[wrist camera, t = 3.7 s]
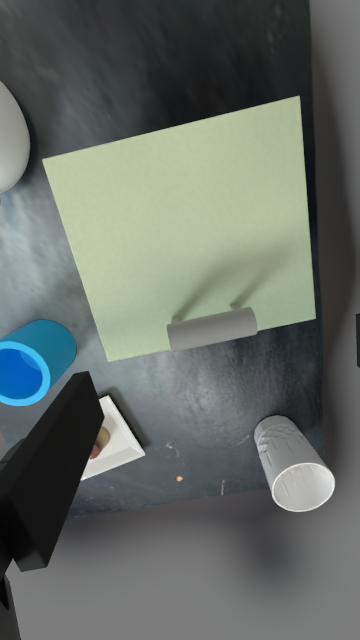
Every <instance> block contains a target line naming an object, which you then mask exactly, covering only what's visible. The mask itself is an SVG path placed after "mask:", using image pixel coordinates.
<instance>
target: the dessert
mask: <svg viewBox="0 0 360 640" xmlns="http://www.w3.org/2000/svg"><path fill="white" fill-rule="evenodd" d="M99 401H100V404H101V407H102V410H103V413H104V415H105V419H104V421H103V424H102V426H101V429H100V431H99V434H98V437H97V439H96V442H95V444H94V447H93V450H92V452H91V455H90V457H89V460H88V462H87V465H86V468H85V470H84V473H83V475H82V478H81V481H82V480H84V479H87V478H89V477H92V476H94V475H97V474H99V473H102V472H104V471H107V470H109V469H112V468H114V467H117V466H119V465H122V464H124V463H127V462H129V461H132V460H134V459H137V458H139V457H142V456H145V453H144V451H143V450H142V448H141V446H140V445H139V443H138V442H137V440H136V438H135V437H134V435H133V434H132V432H131V430H130V429H129V427H128V426H127V424H126V422H125V421H124V419H123V418H122V416H121V414H120V413H119V411H118V410H117V408H116V406H115V405H114V403H113V402H112V400H111V398H110V397H109V396H106V397H103V398H101V399H99Z"/></svg>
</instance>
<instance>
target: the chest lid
mask: <svg viewBox="0 0 360 640" xmlns="http://www.w3.org/2000/svg"><path fill="white" fill-rule="evenodd" d="M42 161H43V164H44V167H45V170H46V174H47V177H48V180H49V183H50V186H51V189H52V192H53V195H54V198H55V201H56V204H57V207H58V210H59V213H60V216H61V219H62V222H63V226H64V229H65V232H66V235H67V238H68V241H69V244H70V247H71V250H72V253H73V256H74V259H75V262H76V265H77V268H78V271H79V274H80V278H81V281H82V284H83V287H84V290H85V293H86V296H87V299H88V302H89V305H90V308H91V311H92V314H93V317H94V320H95V323H96V326H97V330H98V333H99V336H100V339H101V342H102V345H103V348H104V351H105V354H106V357H107V360H108V362H111V361H116V360H121V359H126V358H130V357H135V356H140V355H145V354H149V353H154V352H159V351H164V350H169V349H171V350H172V352H175V351H180V350H184V349H189V348H194V347H199V346H204V345H208V344H213V343H218V342H223V341H227V340H232V339H237V338H242V337H247V336H251V335H256V334H257V331H259V330H264V329H269V328H273V327H278V326H283V325H288V324H292V323H297V322H302V321H307V320H311V319H316V315H315V301H314V287H313V273H312V260H311V246H310V232H309V218H308V204H307V191H306V177H305V163H304V149H303V135H302V122H301V108H300V96H296V97H292V98H288V99H284V100H280V101H276V102H272V103H268V104H264V105H260V106H256V107H252V108H247V109H243V110H239V111H235V112H231V113H227V114H223V115H219V116H215V117H211V118H207V119H203V120H199V121H195V122H191V123H187V124H183V125H179V126H175V127H171V128H167V129H163V130H159V131H155V132H151V133H147V134H143V135H139V136H135V137H131V138H127V139H123V140H119V141H114V142H110V143H106V144H102V145H98V146H94V147H90V148H86V149H82V150H78V151H74V152H70V153H66V154H62V155H58V156H54V157H50V158H46V159H42Z"/></svg>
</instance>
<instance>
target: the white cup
mask: <svg viewBox="0 0 360 640" xmlns="http://www.w3.org/2000/svg"><path fill="white" fill-rule="evenodd" d="M254 439H255V442H256V445H257V448H258V452H259V456H260V459H261V462H262V466H263V469H264V472H265V475H266V478H267V481H268V484H269V487H270V490H271V492H272V496H273V498H274V500H275V502H276V503H277V504H278V505H279V506H281V507H282V508H284V509H286V510H289V511H295V512H302V511H308V510H312V509H314V508H317V507H319V506H320V505H322V504H323V503H325V502H326V501H327V500H328V499H329V498H330V496H331V495H332V493H333V491H334V487H335V479H334V476H333V474H332V473H331V471H330V470H329V469H328V467H327V466H326V465H325V463H324V462H323V460H322V459H321V458H320V456H319V455H318V454H317V452H316V451H315V450H314V448H313V447H312V446H311V444H310V443H309V442H308V441H307V439H306V438H305V437H304V435H303V434H302V433H301V432H300V431H299V430H298V428H297V427H296V425H295V424H294V423H293V422H292V421H291V420H290V419H288V418H287V417H284V416H278V415H276V416H271V417H267V418H266V419H264V420H262V421H261V422H260V423H259V424H258V426H257V427H256V429H255V434H254Z"/></svg>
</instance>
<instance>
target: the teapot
mask: <svg viewBox="0 0 360 640" xmlns="http://www.w3.org/2000/svg"><path fill="white" fill-rule="evenodd" d="M29 153H30V137H29V132H28V128H27V125H26V122H25V119H24V116H23V114H22V112H21V109H20V107H19V105H18V104H17V102H16V100H15V99H14V97H13V96H12V94H11V93H10V91H9V90H8V89H7V88H6V86H5V85H4V84H3V83H2V82H1V81H0V195H1V194H2V193H4V192H6V191H7V190H9V189H10V188H12V187H13V186H14V185H15V184H16V183H17V182H18V181H19V179H20V178H21V177H22V175H23V173H24V171H25V169H26V166H27V163H28V159H29ZM0 204H1V199H0Z"/></svg>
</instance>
